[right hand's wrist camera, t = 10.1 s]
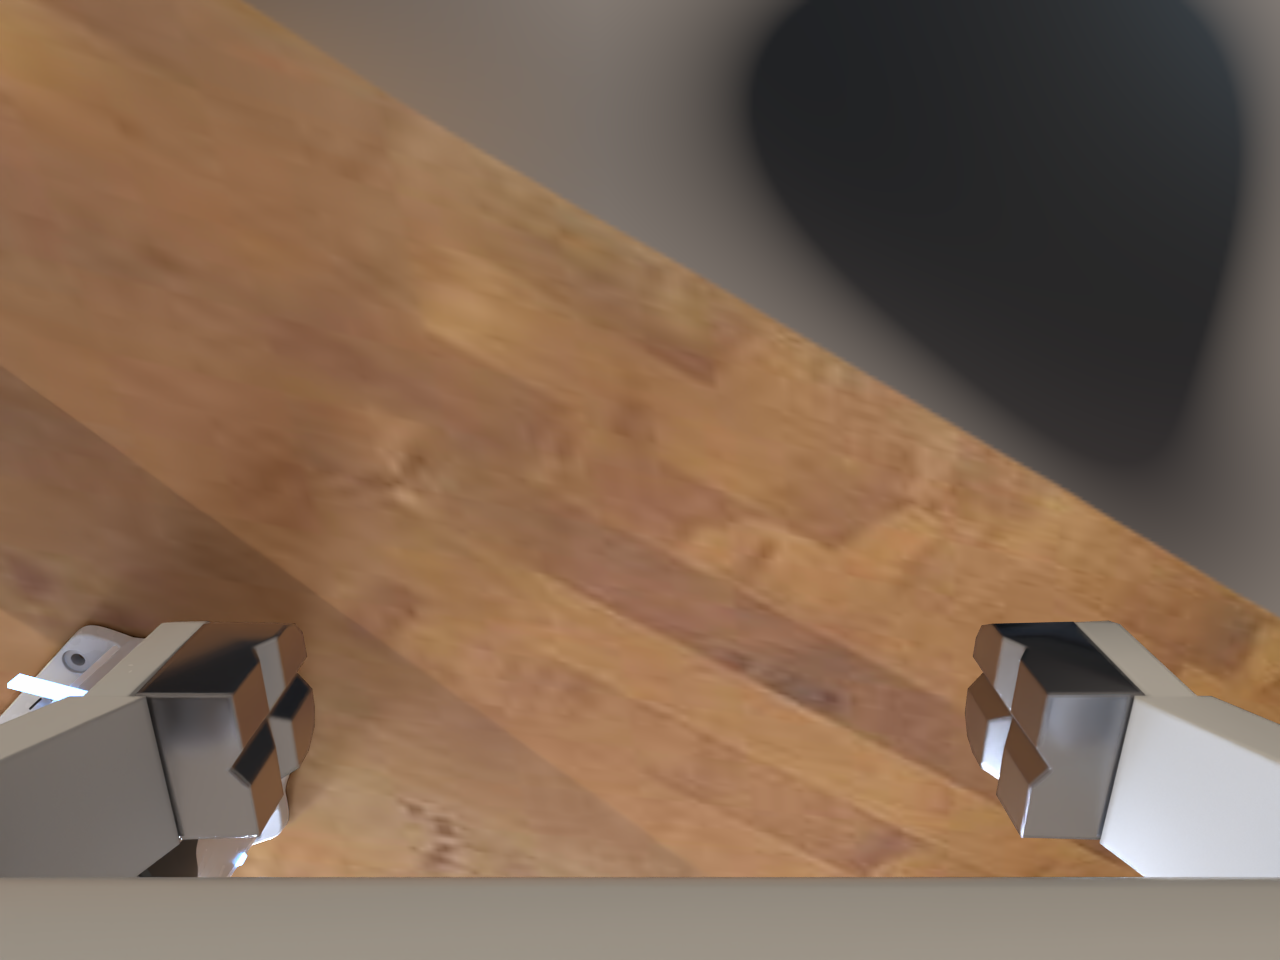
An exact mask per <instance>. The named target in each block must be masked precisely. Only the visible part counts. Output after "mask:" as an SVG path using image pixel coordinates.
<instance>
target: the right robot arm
mask: <svg viewBox="0 0 1280 960" xmlns="http://www.w3.org/2000/svg"><path fill="white" fill-rule="evenodd" d="M79 654H80V655H82V656H83V657H84V659H83V658H81V657H80V656H79ZM306 657H307V653H306V648H305V643H304V638H303V633H302V631H301V630H300V629H299V628H298V626H297V625H296V624H295V623H250V622H209V621H187V622H168V623H161V624H160V625H159V626H158V627H157V628H156V629H155V630H154V631H153V632H152V633H151V634H149V635H148V636H147V637H146V638H145V639H144V638H135V637H131V636H128V635H126V634H123V633H120V632H117V631H114V630H111V629H108V628H105V627H101V626H95V625H88V626H84V627H82V628H80V629H79V630H78V631H77V632H76V633H75V634H74V635H73V636H72V637H71V638H70V640H69V641H68V642H67V643H66V644H65V645H64V646H63V647H62V648H61V649H60V651H59V652H58V653H57V654H56V655H55V656H54V657H53V658H52V659H51V661H50V662H49V663H48V664H47V665H46V666H45V667H44V668H43V669H42V671H41V672H40V673H39V674H38V675H37V676H36V677H35V678H34V677H30V676H26V675H22V674H19V675H17V676H16V677H15V678H14V679H12V680H11V681H10V682H9V683H8V687H7V688H11V689H15V690H19V691H23V692H22V693H21V694H20V695H19V696H18V697H17V698H16V699H15V701H14V702H13V703H12V704H11V705H10V706H9V707H8V708H7V709H6V711H5V712H4V713H3V714H2V715H1V716H0V960H1280V724H1277V723H1275V722H1273V721H1270V720H1268V719H1265V718H1263V717H1260V716H1258V715H1256V714H1253V713H1251V712H1248V711H1246V710H1244V709H1241V708H1239V707H1236V706H1234V705H1231V704H1229V703H1227V702H1224V701H1222V700H1219V699H1217V698H1215V697H1212V696H1197V695H1195V694H1194V693H1193V692H1192V691H1191V690H1190V689H1189V688H1188V687H1187V686H1186V685H1185V684H1184V683H1183V682H1181V681H1180V680H1179V679H1178V678H1177V677H1176V676H1175V675H1174V674H1173V673H1172V672H1171V671H1170V670H1169V669H1167V668H1166V667H1165V666H1164V665H1163V664H1162V663H1161V662H1160V661H1159V660H1158V659H1157V658H1156V657H1155V656H1153V655H1152V654H1151V653H1150V652H1149V651H1148V650H1147V649H1146V648H1145V647H1144V646H1143V645H1142V644H1140V643H1139V642H1138V641H1137V640H1136V639H1135V638H1134V637H1133V636H1132V635H1131V634H1130V633H1129V632H1128V631H1126V630H1125V629H1124V628H1123V627H1122V626H1121V625H1120V624H1117V623H1114V622H1111V621H1091V622H1045V623H1004V624H987V625H982V626H981V628H980V630H979V632H978V635H977V637H976V641H975V647H974V653H973V657H974V659H975V660H976V662H977V664H978V665H979V667H980V668H981V670H982V671H983V673H982V674H981V675H980V676H979V677H978V678H977V680H976V681H975V682H974V683H973V684H972V685H971V686H970V687H969V688H968V691H967V699H966V708H965V719H966V729H967V737H968V740H969V743H970V747H971V750H972V753H973V755H974V756H975V758H976V760H977V762H978V764H979V766H980V767H981V768H982V769H983V770H985V771H987V772H988V773H990V774H991V775H993V776H995V777H996V778H998V779H999V780H998V786H997V792H996V795H997V797H998V799H999V800H1000V802H1001V804H1002V806H1003V807H1004V809H1005V811H1006V812H1007V814H1008V816H1009V818H1010V819H1011V821H1012V823H1013V824H1014V826H1015V828H1016V830H1017V831H1018V833H1019V835H1020V836H1021V838H1058V839H1094V840H1100V844H1102V845H1103V846H1104V847H1105V848H1107V849H1108V850H1109V851H1111V852H1112V853H1113V854H1115V855H1116V856H1117V857H1119V858H1120V859H1121V860H1123V861H1124V862H1125V863H1127V864H1128V865H1129V866H1131V867H1132V868H1133V869H1135V870H1136V871H1137V872H1139V873H1140V874H1141V875H1143V876H1144V877H230V876H231V875H232V873H233V872H234V871H235V869H236V868H237V866H240V865H242V864H243V862H244V860H245V859H246V857H247V855H246V853H247V852H248V850H249V849H250V847H251V846H252V845H254V844H257V843H260V842H263V841H265V840H268V839H271V838H274V837H276V836H277V835H279V834H280V833H281V831H282V830H283V828H284V827H285V826H286V824H287V823H288V820H289V809H288V802H287V797H286V792H285V790H286V784H287V780H288V778H289V775H290V773H292V772H293V771H295V770H297V769H298V768H299V767H300V766H301V764H302V762H303V760H304V758H305V756H306V754H307V753H308V751H309V747H310V743H311V739H312V735H313V730H314V721H315V705H314V698H313V691H312V688H311V687H310V686H309V685H308V684H307V683H306V682H305V681H304V680H303V678H302V677H301V676H300V675H299V674H298V673H297V671H298V670H299V668H300V667H301V665H302V664H303V662H304V660H305V659H306Z"/></svg>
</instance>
